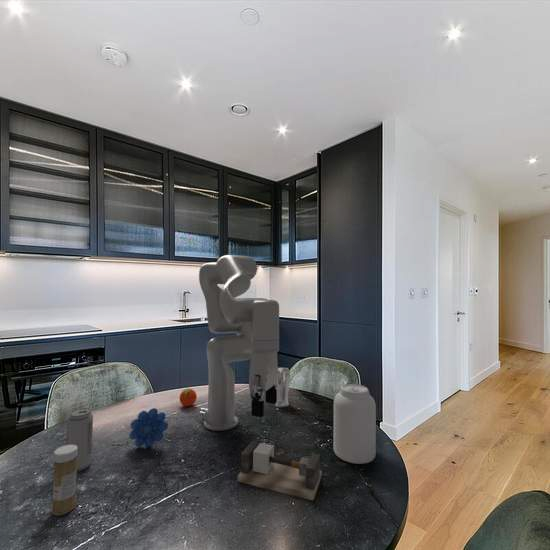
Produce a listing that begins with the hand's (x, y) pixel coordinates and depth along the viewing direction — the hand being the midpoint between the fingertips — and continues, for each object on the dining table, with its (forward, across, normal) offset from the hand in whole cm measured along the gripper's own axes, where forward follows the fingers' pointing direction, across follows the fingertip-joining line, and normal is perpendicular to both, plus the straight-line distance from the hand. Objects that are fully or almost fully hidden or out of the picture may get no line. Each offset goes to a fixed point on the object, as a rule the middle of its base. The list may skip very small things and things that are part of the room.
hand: (264, 409), depth 84 cm
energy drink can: (+18, +15, -50) cm, 55 cm away
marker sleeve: (+16, 0, 0) cm, 16 cm away
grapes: (+18, -1, -40) cm, 43 cm away
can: (+18, -20, +22) cm, 35 cm away
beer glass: (+17, -48, -12) cm, 53 cm away
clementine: (+17, -32, -48) cm, 60 cm away
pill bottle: (+18, +28, -38) cm, 50 cm away
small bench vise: (+18, 0, +4) cm, 18 cm away
